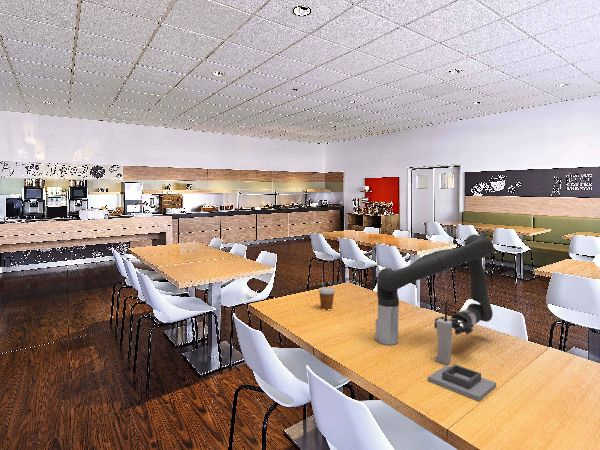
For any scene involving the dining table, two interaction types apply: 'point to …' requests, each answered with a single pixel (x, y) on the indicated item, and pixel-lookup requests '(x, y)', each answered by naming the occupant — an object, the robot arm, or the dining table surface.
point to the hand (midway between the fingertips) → (445, 329)
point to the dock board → (462, 381)
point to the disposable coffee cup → (326, 297)
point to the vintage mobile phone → (444, 339)
